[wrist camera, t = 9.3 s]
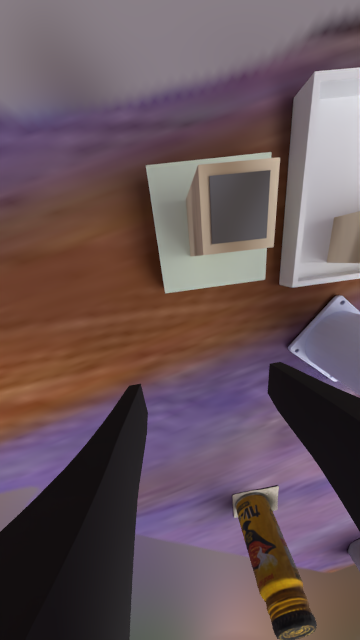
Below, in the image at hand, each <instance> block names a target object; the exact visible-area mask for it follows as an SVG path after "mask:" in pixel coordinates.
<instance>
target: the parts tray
mask: <svg viewBox="0 0 360 640" xmlns="http://www.w3.org/2000/svg"><path fill="white" fill-rule="evenodd" d="M359 211H360V68H348V69H337V70H326V71H315V72H314V73H313V74H312V76H311V77H310V78H309V79H308V81H307V82H306V83H305V84H304V86H303V87H302V88H301V89H300V91H299V92H298V93H297V94H296V96H295V97H294V99H293V112H292V125H291V138H290V151H289V163H288V176H287V189H286V202H285V215H284V228H283V241H282V254H281V267H280V279H279V285H282V286H287V287H291V288H294V287H301V286H308V285H315V284H322V283H330V282H337V281H344V280H351V279H358V278H360V263H327V257H328V251H329V245H330V239H331V233H332V227H333V221H334V217H338V216H343V215H347V214H351V213H355V212H359Z"/></svg>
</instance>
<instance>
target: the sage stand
mask: <svg viewBox="0 0 360 640" xmlns="http://www.w3.org/2000/svg"><path fill="white" fill-rule="evenodd" d="M267 158H271V152H267V153H257V154H248V155H238V156H229V157H220V158H210V159H201V160H192V161H182V162H173V163H163V164H154V165H146V171H147V177H148V184H149V190H150V197H151V204H152V210H153V217H154V223H155V230H156V236H157V243H158V250H159V256H160V263H161V269H162V276H163V283H164V289H165V293H171V292H179V291H186V290H193V289H201V288H208V287H215V286H223V285H230V284H237V283H245V282H252V281H259V280H265V273H266V253H267V248H262V249H253V250H245V251H236V252H227V253H218V254H210V255H201V256H191V257H190V246H189V233H188V221H187V209H186V197H187V195H188V192H189V189H190V186H191V183H192V181H193V178H194V175H195V172H196V169H197V166H198V165H202V164H213V163H223V162H234V161H245V160H256V159H267Z"/></svg>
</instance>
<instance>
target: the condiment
mask: <svg viewBox="0 0 360 640" xmlns="http://www.w3.org/2000/svg"><path fill="white" fill-rule="evenodd" d="M278 489H279V486H276V487H271V488H269V489H263V490H254V491H249V492H243V493H240V494H235V495H233V510H234V518H236V517H238V518H239V522H240V525H241V529H242V532H243V536H244V540H245V543H246V546H247V550H248V553H249V557H250V561H251V564H252V567H253V571H254V574H255V578H256V581H257V586H258V588H259V592H260V594H261V596H262V598H263V599H264V601H265V602H266V604H267V611H268V613H269V615H270V619H271V622H272V626H273V630H274V633H275V635H276V637H277V639H280V640H295V639H299V638H303V637H305V636H308V635H309V634H311V633H313V632H314V631H315V630H316V626H317V625H316V621H315V617H314V616H313V615H312V613H311V610H310V608H309V603H308V600H307V598H306V595H305V593H304V591H303V583H302V580H301V577H300V575H299V573H298V570H297V568H296V566H295V563H294V560H293V558H292V556H291V554H290V552H289V549H288V547H287V545H286V542H285V540H284V538H283V535H282V533H281V530H280V528H279V526H278V524H277V521H276V518H275V516H274V514H273V511H274V510H277V499H278ZM267 494H268V495H267Z"/></svg>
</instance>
